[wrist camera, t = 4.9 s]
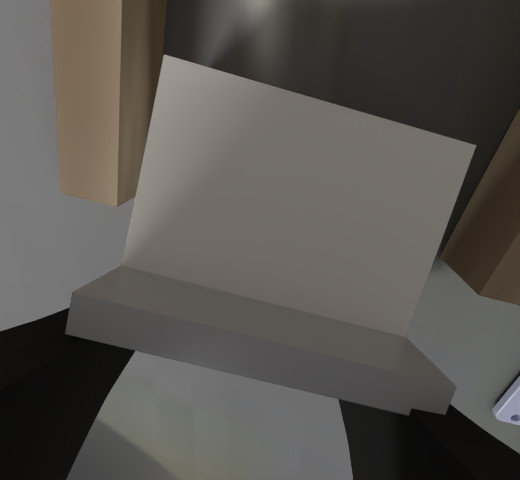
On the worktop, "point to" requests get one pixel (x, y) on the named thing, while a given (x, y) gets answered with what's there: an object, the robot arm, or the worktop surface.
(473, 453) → the robot arm
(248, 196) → the grey l-shaped bracket
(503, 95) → the worktop surface
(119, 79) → the wooden u-shaped frame
